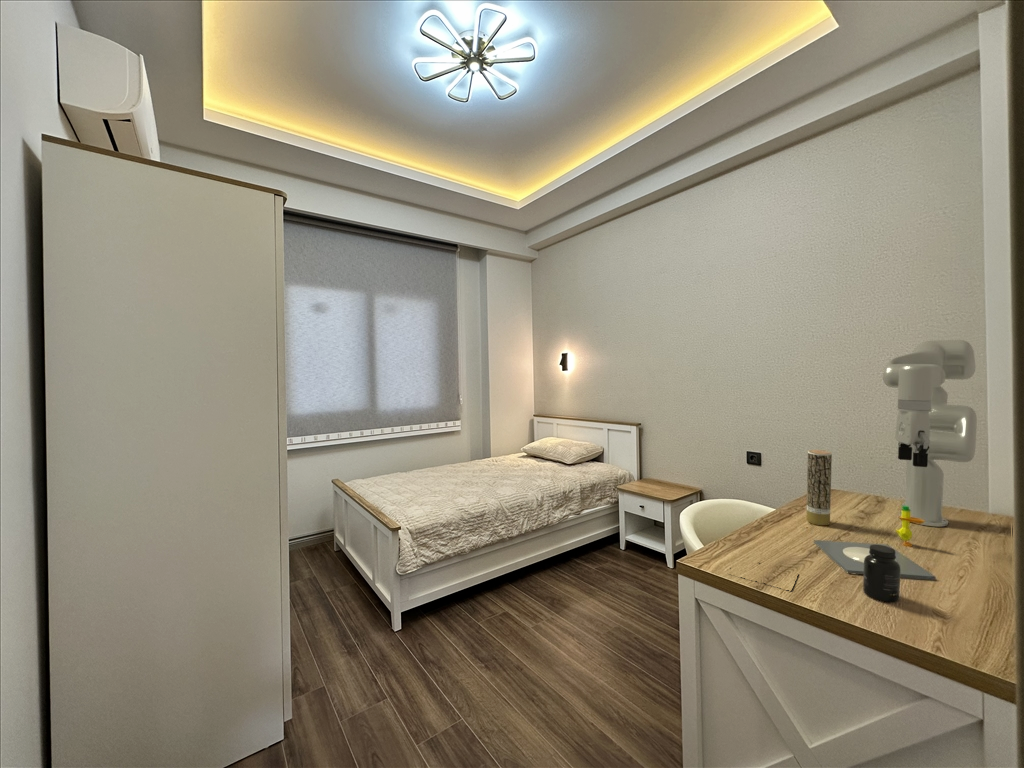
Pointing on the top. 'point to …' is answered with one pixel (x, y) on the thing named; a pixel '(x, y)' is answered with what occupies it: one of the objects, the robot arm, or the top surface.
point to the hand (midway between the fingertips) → (912, 463)
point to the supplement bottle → (881, 574)
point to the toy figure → (907, 525)
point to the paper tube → (819, 487)
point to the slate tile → (855, 553)
